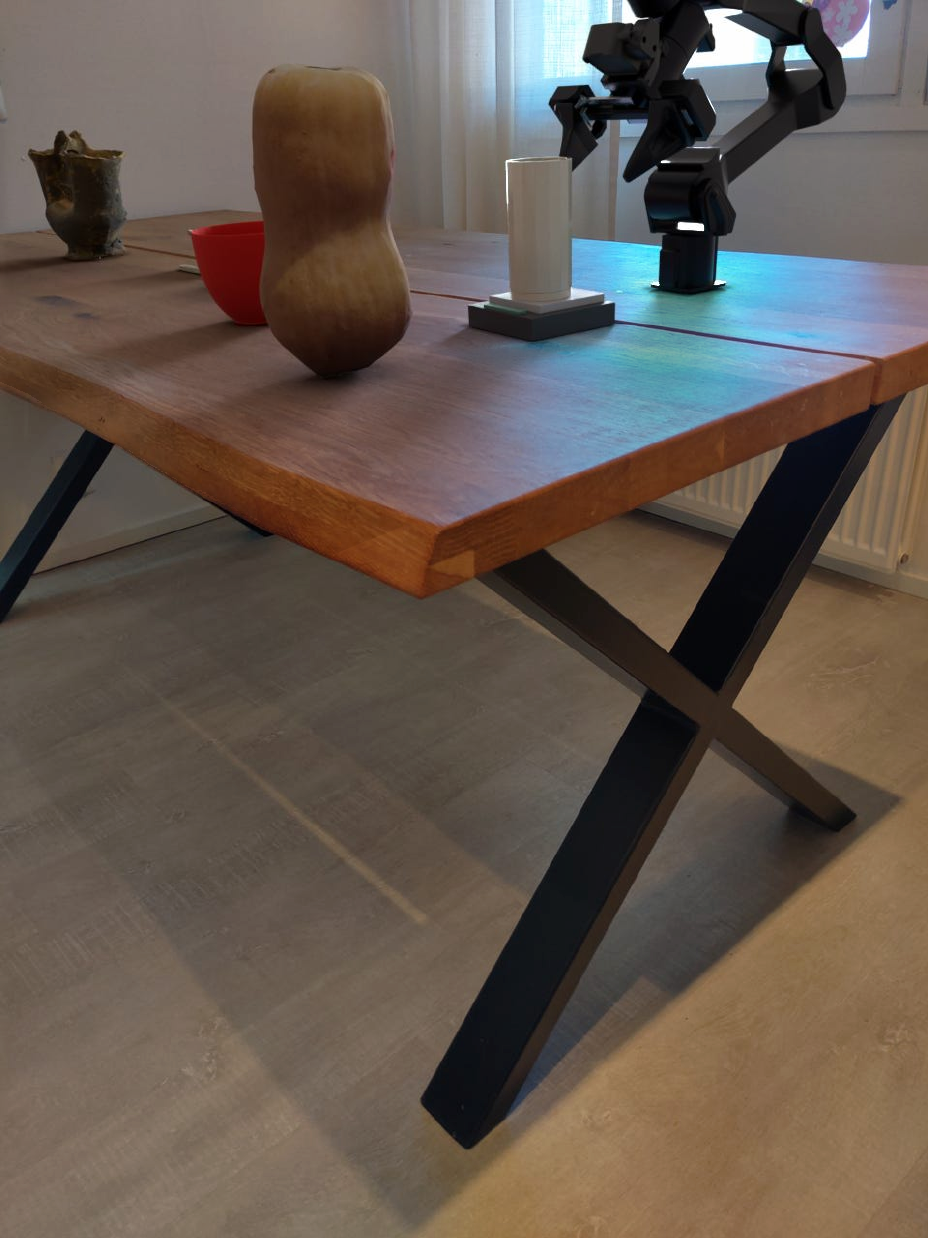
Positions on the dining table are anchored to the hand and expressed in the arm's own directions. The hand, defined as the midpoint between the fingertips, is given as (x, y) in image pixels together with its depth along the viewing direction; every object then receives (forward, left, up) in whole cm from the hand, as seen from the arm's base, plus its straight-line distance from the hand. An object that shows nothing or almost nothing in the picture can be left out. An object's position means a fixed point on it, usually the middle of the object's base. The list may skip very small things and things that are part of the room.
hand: (591, 178), depth 104 cm
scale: (+8, +1, -14) cm, 16 cm away
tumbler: (+8, +1, -11) cm, 13 cm away
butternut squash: (+33, +3, -14) cm, 36 cm away
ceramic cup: (+28, -28, -14) cm, 42 cm away
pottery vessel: (+24, -103, -14) cm, 106 cm away
